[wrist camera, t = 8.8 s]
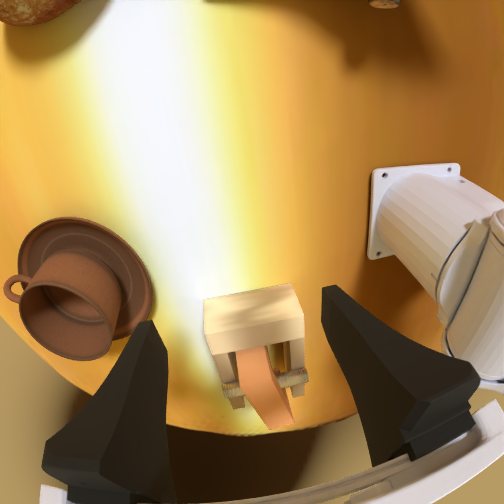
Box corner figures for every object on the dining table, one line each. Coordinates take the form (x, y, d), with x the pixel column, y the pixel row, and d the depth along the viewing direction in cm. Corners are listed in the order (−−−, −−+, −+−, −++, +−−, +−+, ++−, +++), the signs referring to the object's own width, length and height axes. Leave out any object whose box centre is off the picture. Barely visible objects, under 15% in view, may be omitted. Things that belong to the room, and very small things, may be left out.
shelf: (291, 282, 25) (309, 328, 20) (295, 365, 31) (307, 405, 27) (203, 299, 25) (205, 348, 20) (229, 378, 31) (234, 420, 27)
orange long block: (259, 325, 26) (271, 379, 20) (281, 375, 29) (294, 422, 24) (232, 333, 26) (240, 388, 20) (259, 382, 30) (269, 430, 24)
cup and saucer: (53, 325, 24) (34, 372, 19) (11, 215, 18) (-29, 255, 13) (165, 326, 26) (160, 381, 21) (143, 200, 20) (122, 245, 15)
